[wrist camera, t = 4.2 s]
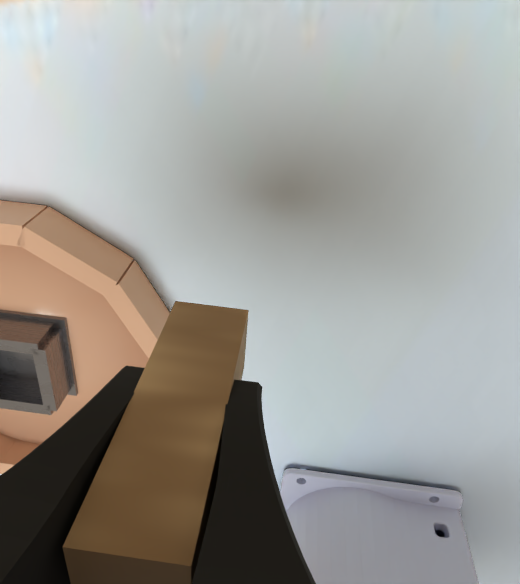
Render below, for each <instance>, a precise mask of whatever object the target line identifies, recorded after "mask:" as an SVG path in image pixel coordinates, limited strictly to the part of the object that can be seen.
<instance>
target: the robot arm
mask: <svg viewBox="0 0 520 584" xmlns="http://www.w3.org/2000/svg"><path fill="white" fill-rule="evenodd" d="M144 369H145V368H141V367H134V366H125V367H124V368H122V369H121V370H120V371H119V372H118V373H117V374H116V375H115V376H114V377H113V378H112V379H111V380H110V381H109V382H108V383H107V384H106V385H105V386H104V387H103V388H102V389H101V390H100V391H99V392H98V393H97V394H96V395H95V396H94V397H93V398H92V399H91V400H90V401H89V402H88V403H87V404H86V405H85V406H83V407H82V408H81V409H80V410H79V411H78V412H77V413H76V414H75V415H74V416H72V417H71V418H70V419H69V420H68V421H67V422H66V423H65V424H64V425H63V426H61V427H60V428H59V429H58V430H57V431H56V432H55V433H53V434H52V435H51V436H50V437H49V438H47V439H46V440H45V441H44V442H42V443H41V444H40V445H39V446H38V447H36V448H35V449H34V450H33V451H32V452H30V453H29V454H28V455H27V456H25V457H24V458H23V459H22V460H20V461H19V462H18V463H16V464H15V465H14V466H12V467H11V468H10V469H8V470H7V471H6V472H4V473H3V474H2V475H0V584H71V582H70V578H69V573H68V569H67V565H66V560H65V556H64V552H63V545H64V543H65V540H66V538H67V536H68V534H69V532H70V530H71V527H72V525H73V523H74V521H75V519H76V516H77V514H78V512H79V510H80V508H81V506H82V503H83V501H84V499H85V497H86V495H87V493H88V490H89V488H90V486H91V484H92V482H93V479H94V477H95V475H96V473H97V471H98V469H99V466H100V464H101V462H102V460H103V458H104V456H105V453H106V451H107V449H108V447H109V445H110V443H111V440H112V438H113V436H114V434H115V432H116V429H117V427H118V425H119V423H120V421H121V419H122V416H123V414H124V412H125V410H126V408H127V406H128V403H129V402H130V400H131V398H132V396H133V395H134V390H135V388H136V386H137V384H138V382H139V379H140V377H141V375H142V373H143V371H144ZM261 394H262V386H261V385H260V384H259V383H257V382H249V381H242V380H234V383H233V386H232V389H231V393H230V397H229V400H228V404H226V406H225V415H224V424H223V433H222V442H221V451H220V460H219V470H218V476H217V482H216V489H215V493H214V497H213V501H212V505H211V510H210V514H209V518H208V522H207V526H206V530H205V534H204V538H203V542H202V546H201V550H200V554H199V558H198V562H197V566H196V570H195V573H194V577H193V581H192V584H479V582H478V578H477V575H476V571H475V567H474V563H473V559H472V556H471V552H470V548H469V544H468V540H467V537H466V533H465V529H464V525H463V522H462V518H461V514H460V511H459V510H460V508H461V506H462V504H463V498H462V495H461V493H460V492H458V491H455V490H449V489H441V488H434V487H427V486H420V485H412V484H405V483H398V482H390V481H383V480H376V479H369V478H361V477H354V476H347V475H339V474H332V473H325V472H317V471H310V470H303V469H296V468H289V469H286V470H285V471H284V472H283V477H282V483H281V490H280V491H279V488H278V484H277V481H276V478H275V474H274V470H273V466H272V463H271V458H270V454H269V449H268V445H267V440H266V435H265V429H264V422H263V415H262V402H261Z"/></svg>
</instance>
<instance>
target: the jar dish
mask: <svg viewBox="0 0 520 584" xmlns="http://www.w3.org/2000/svg"><path fill="white" fill-rule="evenodd" d="M133 259H134V258H132V257H130V256H129V255H127V254H125V253H124V252H122V251H121V250H119V249H117V248H116V247H114V246H113V245H111V244H109V243H108V242H106V241H104V240H103V239H101V238H100V237H98V236H96V235H95V234H93V233H91V232H90V231H88V230H87V229H85V228H83V227H82V226H80V225H78V224H77V223H75V222H74V221H72V220H70V219H69V218H67V217H66V216H64V215H62V214H61V213H59V212H57V211H56V210H54V209H53V208H51V207H48V208H47V206H46V205H37V204H28V203H20V202H11V201H2V200H0V309H1V310H9V311H17V312H25V313H33V314H41V315H49V316H57V317H65V318H67V325H68V331H69V337H70V344H71V350H72V356H73V363H74V369H75V376H76V382H77V388H78V394H77V396H74V395H67V396H66V397H65V399H64V401H63V402H62V404H61V405H60V407H59V409H58V410H57V411H54V412H53V414H52V415H46V414H39V413H32V412H24V411H17V410H9V409H2V408H0V474H3V473H4V472H6V471H7V470H8V469H10V468H11V467H12V466H14V465H15V464H16V463H18V462H19V461H20V460H22V459H23V458H24V457H25V456H27V455H28V454H29V453H30V452H32V451H33V450H34V449H35V448H36V447H38V446H39V445H40V444H41V443H42V442H44V441H45V440H46V439H47V438H49V437H50V436H51V435H52V434H53V433H55V432H56V431H57V430H58V429H59V428H60V427H61V426H63V425H64V424H65V423H66V422H67V421H68V420H69V419H70V418H71V417H72V416H74V415H75V414H76V413H77V412H78V411H79V410H80V409H81V408H82V407H83V406H85V405H86V404H87V403H88V402H89V401H90V400H91V399H92V398H93V397H94V396H95V395H96V394H97V393H98V392H99V391H100V390H101V389H102V388H103V387H104V386H105V385H106V384H107V383H108V382H109V381H110V380H111V379H112V378H113V377H114V376H115V375H116V374H117V373H118V372H119V371H120V370H121V369H122V368H124V367H125V366H134V367H141V368H145V366H146V364H147V362H148V360H149V358H150V356H151V353H152V351H153V349H154V347H155V345H156V343H157V340H158V338H159V336H160V334H161V332H162V329H163V327H164V325H165V323H166V321H167V319H168V316H169V314H170V312H169V311H168V309H167V308H166V306H165V305H164V303H163V302H162V300H161V299H160V297H159V296H158V294H157V293H156V291H155V289H154V288H153V286H152V285H151V283H150V282H149V280H148V279H147V277H146V276H145V274H144V273H143V271H142V270H141V268H140V267H139V265H138V264H137V262H136V261H135V260H134V261H132V260H133Z"/></svg>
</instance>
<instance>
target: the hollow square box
mask: <svg viewBox="0 0 520 584" xmlns="http://www.w3.org/2000/svg"><path fill="white" fill-rule="evenodd" d="M77 394H78V388H77V382H76V376H75V369H74V363H73V356H72V350H71V344H70V337H69V331H68V325H67V318H65V317H57V316H49V315H41V314H33V313H25V312H17V311H9V310H1V309H0V408H2V409H9V410H17V411H24V412H32V413H39V414H46V415H52V414H53V412H54V411H57V410H58V409H59V407H60V405H61V404H62V402H63V401H64V399H65V397H66V396H67V395H74V396H77Z"/></svg>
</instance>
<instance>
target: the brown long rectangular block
mask: <svg viewBox="0 0 520 584" xmlns="http://www.w3.org/2000/svg"><path fill="white" fill-rule="evenodd" d="M247 322H248V310H243V309H235V308H227V307H219V306H211V305H203V304H195V303H186V302H178V301H175V303H174V306H173V308H172V310H171V312H170V314H169V316H168V319H167V321H166V323H165V325H164V327H163V329H162V332H161V334H160V336H159V338H158V340H157V343H156V345H155V347H154V349H153V351H152V353H151V356H150V358H149V360H148V362H147V364H146V366H145V369H144V371H143V373H142V375H141V377H140V379H139V382H138V384H137V386H136V388H135V390H134V395H133V396H132V398H131V400H130V402H129V403H128V406H127V408H126V410H125V412H124V414H123V416H122V419H121V421H120V423H119V425H118V427H117V429H116V432H115V434H114V436H113V438H112V440H111V443H110V445H109V447H108V449H107V451H106V453H105V456H104V458H103V460H102V462H101V464H100V466H99V469H98V471H97V473H96V475H95V477H94V479H93V482H92V484H91V486H90V488H89V490H88V493H87V495H86V497H85V499H84V501H83V503H82V506H81V508H80V510H79V512H78V514H77V516H76V519H75V521H74V523H73V525H72V527H71V530H70V532H69V534H68V536H67V538H66V540H65V543H64V545H63V552H64V556H65V560H66V565H67V569H68V573H69V578H70V582H71V584H192V581H193V577H194V573H195V570H196V566H197V562H198V558H199V554H200V550H201V546H202V542H203V538H204V534H205V530H206V526H207V522H208V518H209V514H210V510H211V505H212V501H213V497H214V493H215V489H216V482H217V476H218V470H219V460H220V451H221V442H222V433H223V424H224V415H225V406H226V404H228V400H229V397H230V393H231V389H232V386H233V383H234V380H241V379H242V374H243V369H244V360H245V347H246V335H247Z"/></svg>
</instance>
